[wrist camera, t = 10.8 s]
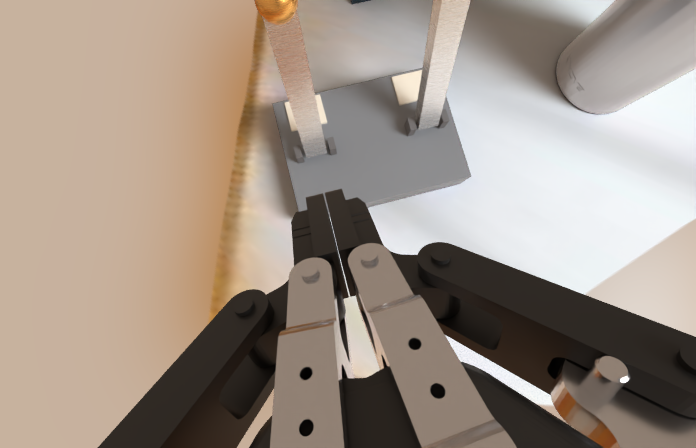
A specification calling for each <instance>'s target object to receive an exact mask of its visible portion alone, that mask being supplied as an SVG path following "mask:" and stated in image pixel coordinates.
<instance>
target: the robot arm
mask: <svg viewBox="0 0 696 448" xmlns="http://www.w3.org/2000/svg"><path fill="white" fill-rule="evenodd" d="M694 69H696V0H615V1H614V2H613V3H612V4H611V5H610V6H609V7H608V8H607V9H606V10H605V11H604V12H603V13H602V14H601V15H600V16H599V17H598V18H597V19H596V20H594V21H593V22H592V23H591V24H590V25H589V26H588V27H587V28H586V29H585V30H584V31H583V32H582V33H581V34H580V35H579V36H578V37H577V38H576V39H575V40H573V41H572V42H571V43H570V44H569V45H568V46H567V47H566V48H565V50H564V51H563V52H562V53H561V55H560V57H559V60H558V63H557V68H556V75H557V80H558V84H559V87H560V89H561V91H562V93H563V94H564V95H565V97H566V98H567V99H568V100H569V101H570V102H571V103H572V104H573V105H575V106H576V107H578V108H580V109H582V110H584V111H587V112H590V113H595V114H609V113H612V112H616V111H618V110H620V109H622V108H624V107H626V106H627V105H629V104H631V103H633V102H635V101H637V100H639V99H640V98H642V97H644V96H646V95H648V94H650V93H652V92H653V91H656V90H657V89H659V88H661V87H663V86H665V85H667V84H668V83H670V82H672V81H674V80H676V79H678V78H679V77H681V76H683V75H685V74H687V73H689V72H690V71H692V70H694ZM325 197H326V201H327V205H328V209H329V213H330V217H331V222H332V225H331V222H330V218H329V214H328V210H327V206H326V203H325V199H324V195H323V193H322V194H317V195H313V196H309V197H306V204H307V210H304V211H300V212H296V213H295V215H294V217H293V219H292V221H291V224H292V238H293V254H294V267H293V269H292V270H291V272H290V274H289V280H288V281H287V282H286V283H285V284H284V285H282V286H281V287H279V288H278V289H276V290H274V291H272V292H270V293H269V294H267V295H266V294H265V293H264V292H262V291H260V290H254V289H253V290H246V291H244V292H241V293H239V294H237V295H236V296H234V297H233V298H232V299H231V300H230V301H229V302H228V303H227V304H226V305H225V306H224V307H223V309H222V310H221V311H220V312H219V313H218V314H217V315H216V316H215V317H214V319H213V320H212V321H211V322H210V323H209V324H208V325H207V326H206V327H205V329H204V330H203V331H202V332H201V333H200V334H199V335H198V336H197V338H196V339H195V340H194V341H193V342H192V343H191V344H190V345H189V347H188V348H187V349H186V350H185V351H184V352H183V353H182V354H181V355H180V357H179V358H178V359H177V360H176V361H175V362H174V363H173V364H172V365H171V367H170V368H169V369H168V370H167V371H166V372H165V373H164V374H163V375H162V377H161V378H160V379H159V380H158V381H157V382H156V383H155V384H154V385H153V387H152V388H151V389H150V390H149V391H148V392H147V393H146V394H145V396H144V397H143V398H142V399H141V400H140V401H139V402H138V404H136V406H135V407H134V408H133V409H132V410H131V411H130V412H129V413H128V415H127V416H126V417H125V418H124V419H123V420H122V421H121V422H120V423H119V425H118V426H117V427H116V428H115V429H114V430H113V431H112V432H111V434H110V435H109V436H108V437H107V438H106V439H105V440H104V441H103V442H102V444H101V445H100V446H99V447H98V448H237V446H238V444H239V443H240V441H241V439H242V438H243V436H244V435H245V433H246V432H247V430H248V428H249V427H250V425H251V424H252V422H253V421H254V419H255V417H256V416H257V414H258V413H259V411H260V410H261V408H262V406H263V405H264V403H265V402H266V400H267V398H268V397H269V395H270V394H271V392H272V390H273V389H274V400H273V415H272V416H271V417H270V418H269V420H268V421H267V422H266V423H265V424H264V426H263V427H262V428H261V429H260V431H259V432H258V434H257V435H256V437H255V439H254V440H253V442H252V444H251V445H250V447H249V448H696V337H694V336H692V335H689V334H686V333H683V332H681V331H678V330H676V329H673V328H671V327H668V326H665V325H663V324H660V323H657V322H655V321H652V320H649V319H647V318H644V317H641V316H639V315H636V314H634V313H631V312H628V311H626V310H623V309H620V308H618V307H615V306H613V305H610V304H607V303H604V302H602V301H599V300H597V299H594V298H591V297H589V296H586V295H584V294H581V293H578V292H576V291H573V290H570V289H568V288H565V287H562V286H560V285H557V284H555V283H552V282H549V281H547V280H544V279H541V278H539V277H536V276H533V275H531V274H528V273H526V272H523V271H520V270H518V269H515V268H512V267H510V266H507V265H505V264H502V263H499V262H497V261H494V260H491V259H489V258H486V257H483V256H481V255H478V254H476V253H473V252H470V251H468V250H465V249H462V248H460V247H457V246H454V245H452V244H449V243H443V242H436V243H431V244H428V245H426V246H424V247H423V248H422V249H421V250H420V251H419V253H418V255H400V254H396V253H393V252H391V251H389V250H388V249H387V248H386V247H384V245H383V244H382V241H381V239H380V237H379V234H378V232H377V230H376V227H375V225H374V222H373V220H372V218H371V215H370V213H369V211H368V208H367V206H366V204H365V202H363V201H362V200H361V199H359V198H358V197H356V198H352V199H348V200H345V197H344V194H343V191H342V188H341V189H337V190H333V191H329V192H325ZM332 226H333V229H332ZM333 230H334V233H333ZM334 234H335V237H334ZM335 238H336V242H337V246H338V250H339V254H340V258H341V262H342V266H343V270H344V273H345V277H346V281H347V285H348V289H349V293H350V297H351V296H355V295H356V298H357V302H358V305H359V310H360V314H361V317H362V320H363V322H364V325H365V328H366V331H367V334H368V336H369V339H370V342H371V345H372V348H373V350H374V353H375V356H376V359H377V362H378V365H379V368H380V371H378V372H376V373H375V374H373V375H371V376H369V377H367V378H354V373H353V368H352V360H351V352H350V344H349V336H348V328H347V320H346V316H345V312H346V310H345V305H344V300H343V299H344V298H348V297H349V296H348V292H347V288H346V284H345V279H344V275H343V271H342V267H341V263H340V258H339V254H338V250H337V246H336V242H335ZM444 334H445V335H447V336H448V337H450V338H452V339H454V340H455V341H457V342H459V343H461V344H462V345H464V346H466V347H468V348H469V349H471V350H473V351H475V352H476V353H478V354H480V355H482V356H483V357H485V358H487V359H489V360H490V361H492V362H494V363H496V364H497V365H499V366H501V367H503V368H504V369H506V370H508V371H510V372H511V373H513V374H515V375H517V376H518V377H520V378H522V379H524V380H525V381H527V382H529V383H531V384H532V385H534V386H536V387H538V388H539V389H541V390H543V391H545V392H546V393H548V394H550V395H551V398H552V402H553V404H554V406H555V408H556V410H557V411H558V413H559V414H560V416H561V417H562V418H563V419H564V420H565V421H566V422H567V423H568V424H569V425H568V424H566V423H565V422H563V421H562V420H560V419H558V418H557V417H555V416H554V415H552V414H551V413H549V412H547V411H546V410H544V409H543V408H541V407H540V406H538V405H537V404H535V403H534V402H532V401H530V400H529V399H527V398H526V397H524V396H523V395H521V394H519V393H518V392H516V391H515V390H513V389H512V388H510V387H508V386H507V385H505V384H504V383H502V382H501V381H499V380H498V379H496V378H494V377H493V376H491V375H490V374H488V373H486V372H485V371H483V370H481V369H479V368H477V367H475V366H472V365H469V364H467V363H464V362H460V360H459V359H458V357H457V355H456V354H455V352H454V350H453V349H452V347H451V345H450V343H449V342H448V340H447V338H446V337H445V335H444ZM571 426H572V427H571ZM574 428H575V429H574Z"/></svg>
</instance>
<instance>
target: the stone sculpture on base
mask: <svg viewBox="0 0 696 448" xmlns="http://www.w3.org/2000/svg"><path fill="white" fill-rule="evenodd" d="M365 1H370V0H351V3H352V4H355V3H360V2H365Z"/></svg>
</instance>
